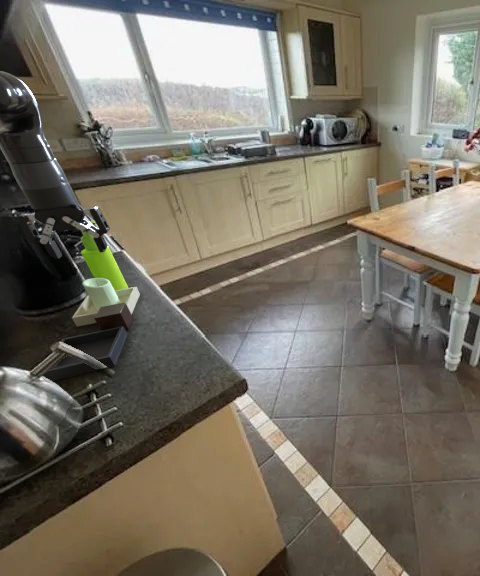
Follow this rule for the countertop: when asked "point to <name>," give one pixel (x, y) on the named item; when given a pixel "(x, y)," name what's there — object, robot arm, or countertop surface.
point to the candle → (100, 292)
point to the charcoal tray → (90, 352)
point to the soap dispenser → (102, 262)
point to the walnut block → (114, 317)
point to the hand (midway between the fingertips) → (81, 254)
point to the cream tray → (89, 311)
